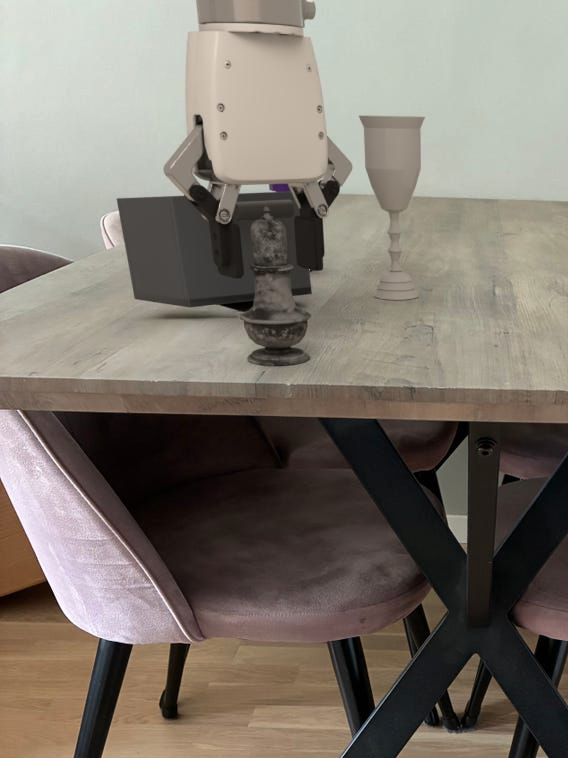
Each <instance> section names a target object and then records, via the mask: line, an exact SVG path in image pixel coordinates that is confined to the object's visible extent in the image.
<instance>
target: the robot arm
mask: <svg viewBox="0 0 568 758" xmlns="http://www.w3.org/2000/svg"><path fill="white" fill-rule="evenodd" d="M195 4H196V5H195V6H196V15H197V23H198V31H189V32H187V39H186V55H185V78H184V79H185V80H184V83H185V84H184V85H185V89H184V90H185V91H184V93H185V122H186V138H185V139H184V140H183V141H182V143H181V144H180V145H179V146H178V148H177V149H175V151H174V153H173V154H172V155H171V156H170V157H169V159H168V160H167V161H166V163H164V166H163V174H164V176H166V178H168V179H169V181H170V182H171V183H172V184H173V185H174V186H175V187H176V188H177V189H178V190H179V191H180V192H181V193H182V194H183V196H185V198H186V199H187V200H188V201H189V202H190V203H191V204H192V205H193V206H194V207H195V208H196V209H197V210H198V211H199V212H200V213H201V214H202V217H203V218H204V219H205V220H207V221H209V226H210V235H211V244H212V254H213V260H214V263H215V265H216V266H218V272H219V274H220V275H224V276H227V277H231V278H234V279H237V278H242V276H244V268H243V257H242V247H241V236H240V228H239V226H238V224H236V223H233V220H232V215H233V212H234V208H235V205H236V201H237V198H238V195H239V193H240V191H241V188H242V186H249V185H250V186H253V185H256V186H257V185H269V184H288V186H289V188H290V191H291V193H292V195H293V197H294V199H295V202H296V204H297V206H298V208H299V211H300V215H296V216H295V218H294V230H295V244H296V258H297V265H298V266H300V267H302V268H306V269H310V270H313V271H315V272H318V271H323V270H324V257H325V252H326V251H325V237H324V235H325V234H324V219H326V218H327V217H328V215H329V213H330V207H331V206H332V205H333V203H334V201H336V198H337V197H338V196H339V194H340V192H341V191H340V190H341V187H343V186H344V184H345V182H346V181H347V179H348V178H349V176H350V175H351V173H352V170H353V163H352V162H351V160H350V159H348V157H347V156H346V154H344V153H343V151H341V149H340V148H339V146H338V145H336V144H335V142H334V141H333V140H332V139H331V137H329V136H328V132H327V120H326V113H325V112H326V111H325V103H324V95H323V89H322V84H321V77H320V73H319V68H318V63H317V58H316V53H315V50H314V46H313V43H312V40H311V37H310V36H304V28H306V27H305V26H306V25H305V21H307V20H314V19H315V17H316V9H317V8H316V3H315V0H195ZM196 177H197V178H198V179H200V180H203V181H208V185H207V188H206V187H205V186H204V185H201V183H200V182H199V181H198V180H197V178H196Z"/></svg>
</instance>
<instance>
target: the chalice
mask: <svg viewBox="0 0 568 758" xmlns="http://www.w3.org/2000/svg"><path fill="white" fill-rule="evenodd" d="M358 118H359V121H360V123H361V125H362V126H363V127H362V128H363V135H364V136H363V144H364V168H365V171H366V174H367V177H368V180H369V184H370V186H371V188H372V191H373V194H374V195H375V197H376V200H377V202H378V204H379V206H380V208H381V209H382V210H383V211H385V212H387V213H388V215H389V220H390V222H389V229H387V234H388V236H389V240H390V244H389V247H388V248H387V249H386V250H387V252H388V253H389V256H390V261H391V262H390V268H389V269H388V272H386V273H383V274H382V275H381V277H380V278H379V282H378V284H377V286H376V288H377V289H376V291H375V293H374V294H373V297H374V298H376V299H381V300H388V301H389V300H390V301H405V300H413V299H416V298H419V294H418V293H417V291H416V289H415V288H416V286H415V285H414V283H413V278H412V277H411V276H410V275H409V274H408V273H405V272H403V268H401V263H400V260H401V259H400V258H401V254H402V253H403V252H404V250H403V248H402V247H401V244H400V237H401V235H402V233H403V231H402V230H401V228H400V222H399V218H400V213H402V212H404V211H406V210H407V209H408V207H409V204H410V201H411V200H412V197H413V194H414V192H415V189H416V187H417V183H418V180H419V177H420V173H421V169H422V153H421V152H422V148H421V147H422V146H421V145H422V144H421V140H422V139H421V137H422V135H421V134H422V133H421V132H422V131H421V128H422V126H423V123H424V121H425V119H426V116H416V115H415V116H411V115H410V116H409V115H408V116H407V115H358Z"/></svg>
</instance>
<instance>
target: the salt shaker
mask: <svg viewBox="0 0 568 758" xmlns="http://www.w3.org/2000/svg"><path fill="white" fill-rule="evenodd" d="M262 211H263V212H264V216H262V217H261V218H260V219H258V220H256V221H255V222H254V223H253V224H252V226H251V241H252V252H253V264H252V265H250V266H249V268H250V269H251V270H252V271H253V273H254V284H255V298H254V301H253V303H252V306H251V307H250V308H249V309H248V310H246V311H243V312H241V313H240V314H239V315H238V316H239V319H240V320H241V321H242V322H243V326H244V330H245V332H246V333H247V336H248V338H249V340H251V341H252V342H253V343H254V344H255V345H257V346H260V347H262V348H258V349H255V350H253V351H252V352H251V353H249V354H248V355H247V357H246V359H247V361H248V362H249V363H251V364H255V365H259V366H270V367H272V366H273V367H275V366H277V367H279V366H280V367H282V366H291V365H292V366H293V365H299V364H302V363H303V364H304V363H306V362H308V361H309V360H311V355H310V354H309V353H308V352H306V351H305V350H303V349H301V348H299V347H294V346H295V345H298V344H300V342H301V341H302V340H303V339H304V338H305V336H306V334H307V329H308V327H309V325H308V320H310V319H311V317H312V314H311V313H310V312H309V311H306V310H304V309H301V308H300V307H299V306H298V305H296V302H295V299H294V296H292V292H291V280H290V271H291V269H293V266H292V265H291V264H289V263H288V252H287V238H286V229H285V226H284V225H283V223H282V222H280V221H279V220H277V219H274V218H273V216H270V211H271V210H269V207H268V206H267V205H265V207H264V210H262Z"/></svg>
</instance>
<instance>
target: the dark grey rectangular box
mask: <svg viewBox="0 0 568 758" xmlns="http://www.w3.org/2000/svg"><path fill="white" fill-rule="evenodd" d="M116 203H117V204H116V205H117V207H118V208H117V209H118V214H119V221H120V226H121V231H122V238H123V242H124V243H123V244H124V247H125V253H126V258H127V264H128V269H129V275H130V281H131V287H132V292H133V297H134V300H138V301H145V302H152V303H157V304H163V305H169V306H170V305H171V306H178V307H182V308H191V309H192V308H199V307H208V306H216V305H217V306H218V305H227V304H233V303H235V304H236V303H245V302H254V298H255V284H254V273H253V271H252V270H251V269H250V268H249V266H250V265H252V264H253V252H252V241H251V226H252V224H253V223H254V222H255V221H256V220H258V219H260V218H261V217H262V216H264V212H263V211H262V210H264V207H265V205H267V206H268V207H269V210H271V211H270V216H273V218H274V219H277V220H279V221H280V222H282V223H283V225H284V226H285V229H286V238H287V252H288V263H289V264H291V265H292V266H293V269H291V271H290V280H291V292H292V296H293V297H298V296H306V295H312V294H313V292H312V283H311V274H310V272H311V271H310V272H309V269H306V268H302V267H300V266H298V265H297V258H296V244H295V230H294V218H295V216H296V215H300V211H299V208H298V206H297V204H296V202H295V199H294V197H293V195H292V193H291V191H290V192H276V191H270V192H268V191H267V192H245V193H244V192H243V193H240V192H239V195H238V198H237V201H236V205H235V208H234V212H233V215H232V220H233V223H236V224H238V226H239V228H240V236H241V247H242V257H243V268H244V276H242V278H237V279H234V278H231V277H227V276H224V275H220V274H219V272H218V266H216V265H215V263H214V260H213V254H212V244H211V235H210V226H209V221H207V220H205V219H204V218H203V217H202V214H201V213H200V212H199V211H198V210H197V209H196V208H195V207H194V206H193V205H192V204H191V203H190V202H189V201H188V200H187V199H186V198H185V196H184V195H167V196H165V195H164V196H144V197H143V196H141V197H139V196H138V197H118V198H116Z"/></svg>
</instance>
